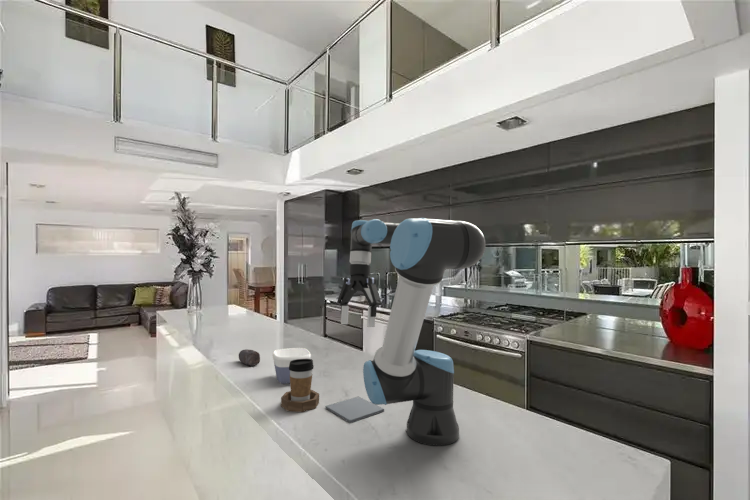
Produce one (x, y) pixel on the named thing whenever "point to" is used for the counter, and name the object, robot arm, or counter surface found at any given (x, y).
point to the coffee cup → (300, 379)
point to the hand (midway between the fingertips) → (357, 325)
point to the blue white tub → (287, 361)
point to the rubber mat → (354, 409)
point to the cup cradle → (299, 402)
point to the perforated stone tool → (249, 357)
